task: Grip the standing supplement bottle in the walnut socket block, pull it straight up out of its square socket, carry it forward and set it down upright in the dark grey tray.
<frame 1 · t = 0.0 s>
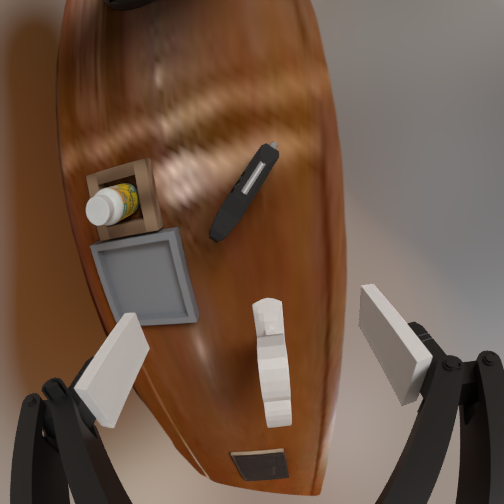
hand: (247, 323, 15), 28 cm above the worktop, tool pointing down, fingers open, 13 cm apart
supplement bottle: (127, 199, 40), resting in socket block
hardcover book: (261, 463, 68), on the worktop
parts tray: (146, 278, 45), on the worktop
socket block: (126, 199, 40), on the worktop
gun: (245, 186, 40), on the worktop
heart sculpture: (270, 329, 48), on the worktop
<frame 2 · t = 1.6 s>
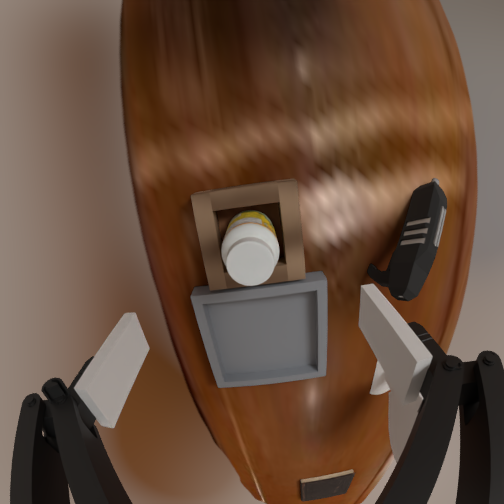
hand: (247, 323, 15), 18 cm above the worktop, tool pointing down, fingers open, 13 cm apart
supplement bottle: (250, 231, 31), resting in socket block
hardcover book: (324, 483, 59), on the worktop
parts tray: (265, 331, 36), on the worktop
socket block: (250, 232, 31), on the worktop
gun: (401, 224, 31), on the worktop
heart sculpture: (387, 369, 40), on the worktop
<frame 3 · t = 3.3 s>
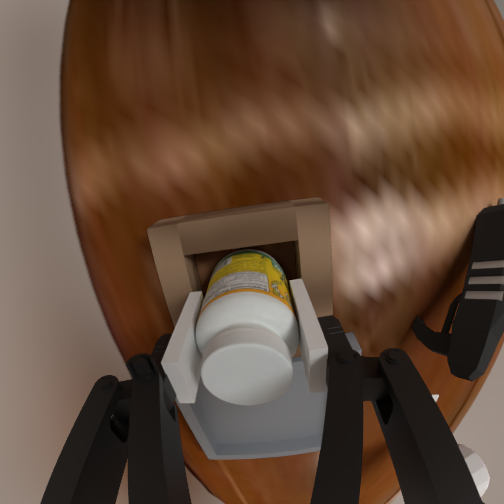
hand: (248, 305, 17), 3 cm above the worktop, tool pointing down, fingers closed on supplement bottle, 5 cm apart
supplement bottle: (248, 281, 20), resting in socket block, touching gripper
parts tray: (268, 404, 24), on the worktop
socket block: (248, 282, 20), on the worktop
gun: (458, 261, 20), on the worktop
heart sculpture: (412, 423, 28), on the worktop
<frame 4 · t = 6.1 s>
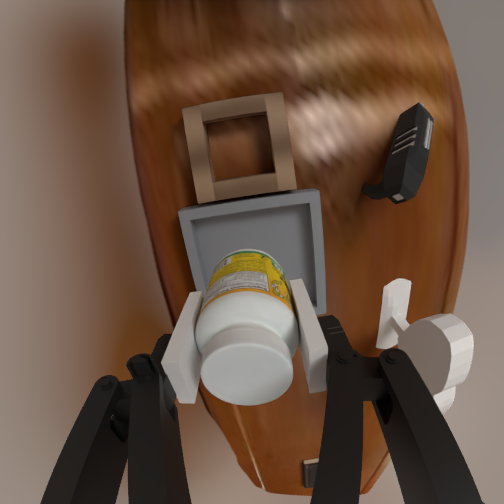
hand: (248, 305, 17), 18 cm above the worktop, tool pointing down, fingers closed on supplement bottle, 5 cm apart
supplement bottle: (248, 281, 20), point 14 cm above the worktop, touching gripper
hardcover book: (329, 467, 58), on the worktop
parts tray: (257, 259, 35), on the worktop
socket block: (240, 147, 30), on the worktop
gun: (391, 146, 30), on the worktop
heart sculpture: (393, 315, 38), on the worktop
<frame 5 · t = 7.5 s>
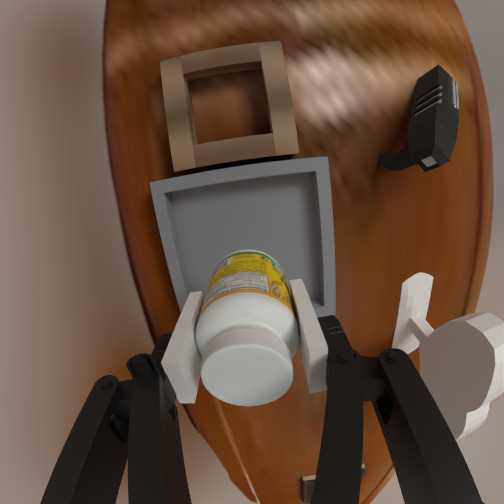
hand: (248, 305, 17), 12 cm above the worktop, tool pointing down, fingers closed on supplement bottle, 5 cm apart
supplement bottle: (248, 281, 20), point 8 cm above the worktop, touching gripper
hardcover book: (330, 482, 51), on the worktop
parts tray: (249, 245, 27), on the worktop
socket block: (229, 106, 23), on the worktop
gun: (410, 113, 23), on the worktop
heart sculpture: (411, 317, 31), on the worktop
when the fingers open (6 cm above the worktop, at t = 8.8 s): supplement bottle drops 1 cm, resting on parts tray.
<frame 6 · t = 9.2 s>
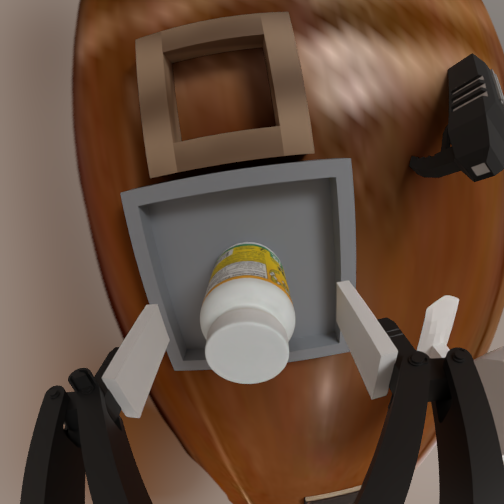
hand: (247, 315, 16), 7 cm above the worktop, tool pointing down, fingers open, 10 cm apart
supplement bottle: (248, 272, 21), point 1 cm above the worktop, touching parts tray
hardcover book: (333, 499, 45), on the worktop
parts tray: (248, 270, 22), on the worktop
socket block: (222, 92, 17), on the worktop
gun: (442, 108, 17), on the worktop
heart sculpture: (432, 344, 25), on the worktop
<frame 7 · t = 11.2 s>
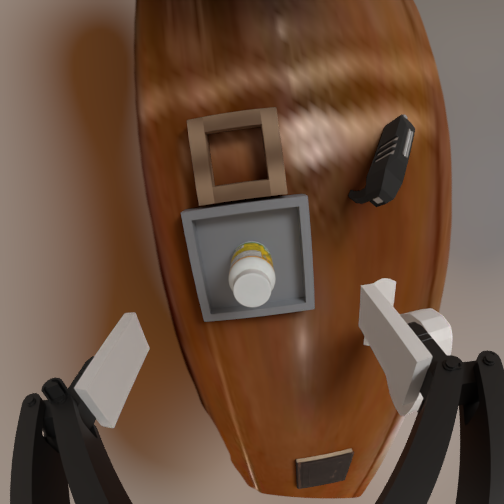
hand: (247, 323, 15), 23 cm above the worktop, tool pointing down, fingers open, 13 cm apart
supplement bottle: (251, 259, 37), point 1 cm above the worktop, touching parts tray
hardcover book: (322, 467, 60), on the worktop
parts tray: (251, 257, 38), on the worktop
socket block: (237, 156, 34), on the worktop
gun: (376, 155, 34), on the worktop
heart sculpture: (379, 314, 41), on the worktop
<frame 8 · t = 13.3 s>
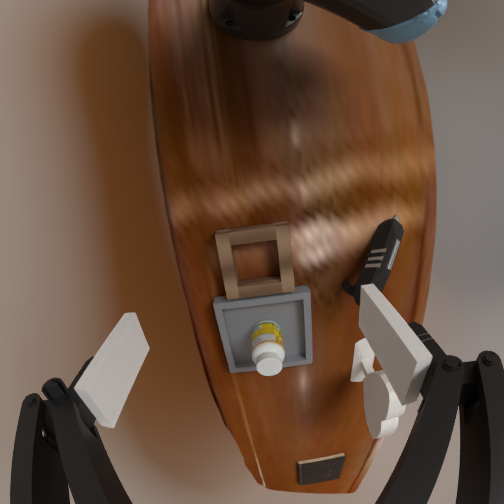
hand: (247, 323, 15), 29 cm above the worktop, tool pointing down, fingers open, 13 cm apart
supplement bottle: (266, 330, 48), point 1 cm above the worktop, touching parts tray
hardcover book: (319, 467, 72), on the worktop
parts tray: (266, 329, 49), on the worktop
socket block: (256, 258, 44), on the worktop
gun: (368, 250, 44), on the worktop
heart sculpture: (363, 360, 52), on the worktop
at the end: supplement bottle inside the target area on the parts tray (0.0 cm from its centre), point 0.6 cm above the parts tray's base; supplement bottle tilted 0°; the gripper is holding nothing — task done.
